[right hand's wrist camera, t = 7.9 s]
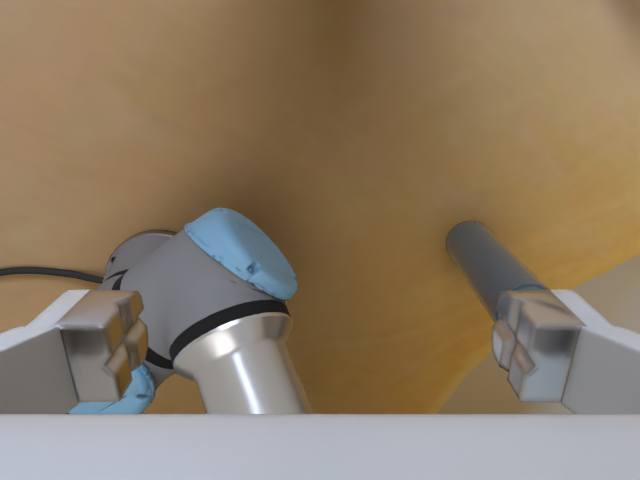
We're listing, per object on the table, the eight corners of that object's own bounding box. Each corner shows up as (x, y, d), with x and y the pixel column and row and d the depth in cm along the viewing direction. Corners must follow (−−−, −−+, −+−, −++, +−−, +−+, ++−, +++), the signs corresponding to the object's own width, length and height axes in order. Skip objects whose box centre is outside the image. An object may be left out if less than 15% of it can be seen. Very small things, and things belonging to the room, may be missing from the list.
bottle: (447, 221, 60) (520, 313, 38) (493, 220, 60) (593, 311, 38) (444, 263, 62) (511, 372, 40) (488, 261, 62) (580, 370, 40)
